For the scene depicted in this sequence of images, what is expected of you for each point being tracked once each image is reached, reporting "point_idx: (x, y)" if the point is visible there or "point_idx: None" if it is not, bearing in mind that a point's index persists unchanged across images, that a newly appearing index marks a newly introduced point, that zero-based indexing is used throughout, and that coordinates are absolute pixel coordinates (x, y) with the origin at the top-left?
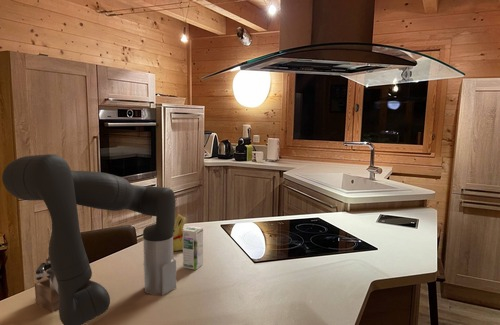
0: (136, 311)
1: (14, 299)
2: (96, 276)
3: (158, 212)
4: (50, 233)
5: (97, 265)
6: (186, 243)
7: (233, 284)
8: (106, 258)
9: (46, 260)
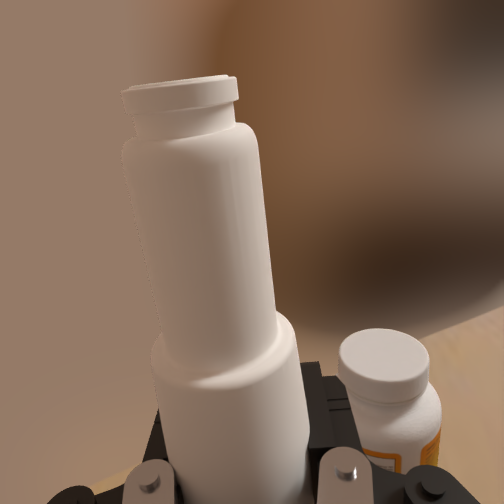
0: None
1: (95, 491)
2: (490, 446)
3: None
4: (127, 141)
5: (467, 348)
6: None
7: None
8: (496, 312)
9: (158, 412)
